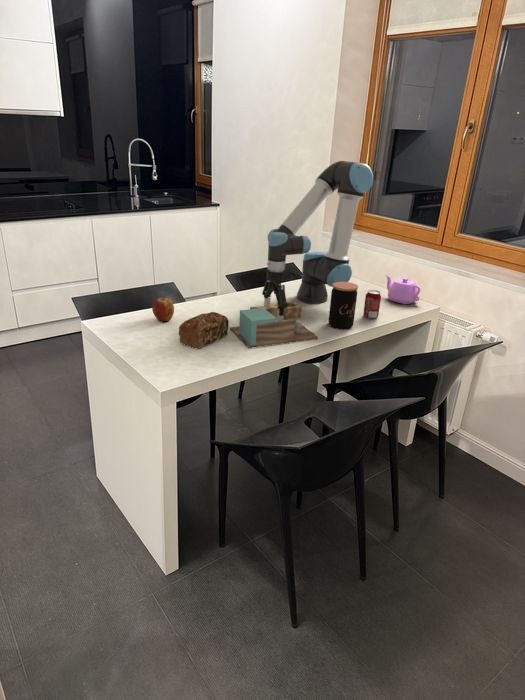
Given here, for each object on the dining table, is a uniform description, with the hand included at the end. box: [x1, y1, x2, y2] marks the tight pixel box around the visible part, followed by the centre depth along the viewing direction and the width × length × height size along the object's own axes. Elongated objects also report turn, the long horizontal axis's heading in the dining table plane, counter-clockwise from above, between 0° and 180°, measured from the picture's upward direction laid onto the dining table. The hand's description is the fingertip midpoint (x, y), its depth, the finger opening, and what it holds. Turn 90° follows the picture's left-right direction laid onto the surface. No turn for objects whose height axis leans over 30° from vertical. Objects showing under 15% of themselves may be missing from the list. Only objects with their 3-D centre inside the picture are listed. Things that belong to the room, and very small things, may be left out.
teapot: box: [385, 274, 421, 305], centre depth 246 cm, size 20×13×12 cm, turn 48°
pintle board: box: [229, 319, 318, 349], centre depth 199 cm, size 20×30×6 cm, turn 114°
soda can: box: [362, 289, 382, 320], centre depth 221 cm, size 7×7×12 cm
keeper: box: [238, 308, 277, 348], centre depth 191 cm, size 12×10×11 cm
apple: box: [151, 297, 175, 322], centre depth 207 cm, size 9×9×10 cm
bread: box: [178, 311, 230, 350], centre depth 190 cm, size 19×11×10 cm, turn 146°
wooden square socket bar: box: [249, 300, 302, 320], centre depth 217 cm, size 22×8×5 cm, turn 114°
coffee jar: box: [328, 281, 359, 331], centre depth 209 cm, size 11×11×18 cm
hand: (273, 316), depth 218 cm, fingers open, 13 cm apart
